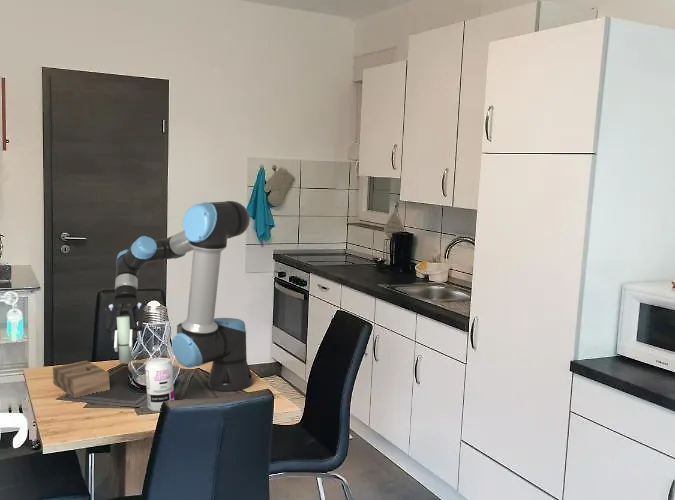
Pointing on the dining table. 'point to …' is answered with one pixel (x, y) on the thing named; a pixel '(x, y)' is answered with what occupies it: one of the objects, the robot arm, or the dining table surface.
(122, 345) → the peg
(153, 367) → the supplement can
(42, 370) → the dining table surface
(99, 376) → the socket block
